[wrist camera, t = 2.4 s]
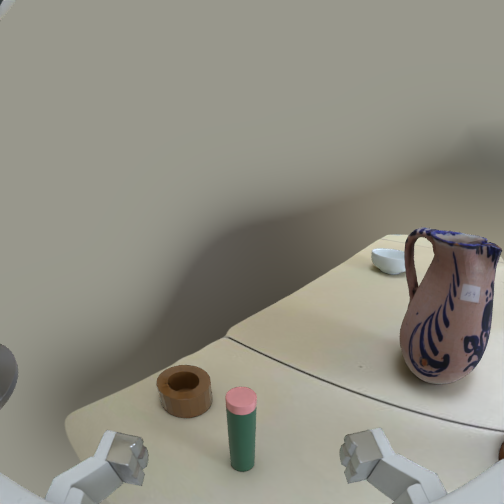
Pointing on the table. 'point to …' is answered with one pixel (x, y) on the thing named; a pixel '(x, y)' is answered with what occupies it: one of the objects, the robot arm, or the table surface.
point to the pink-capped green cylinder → (241, 427)
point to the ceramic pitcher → (448, 305)
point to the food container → (501, 452)
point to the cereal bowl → (389, 260)
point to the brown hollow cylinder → (185, 391)
